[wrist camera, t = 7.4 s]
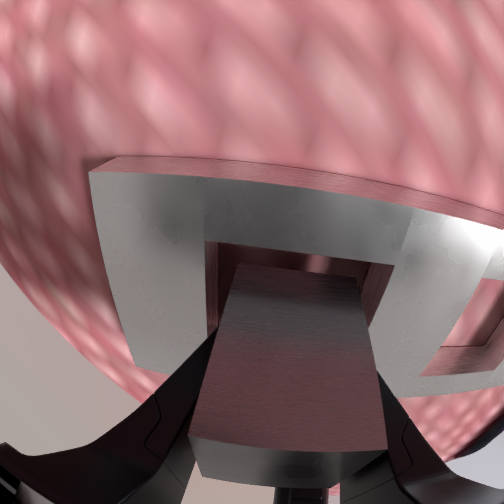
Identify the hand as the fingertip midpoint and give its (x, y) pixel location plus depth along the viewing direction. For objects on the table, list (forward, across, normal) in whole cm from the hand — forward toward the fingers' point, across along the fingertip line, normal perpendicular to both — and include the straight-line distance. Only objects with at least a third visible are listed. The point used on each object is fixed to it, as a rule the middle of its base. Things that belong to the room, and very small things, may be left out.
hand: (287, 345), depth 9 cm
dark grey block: (+2, 0, 0) cm, 2 cm away
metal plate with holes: (+3, -5, 0) cm, 6 cm away
